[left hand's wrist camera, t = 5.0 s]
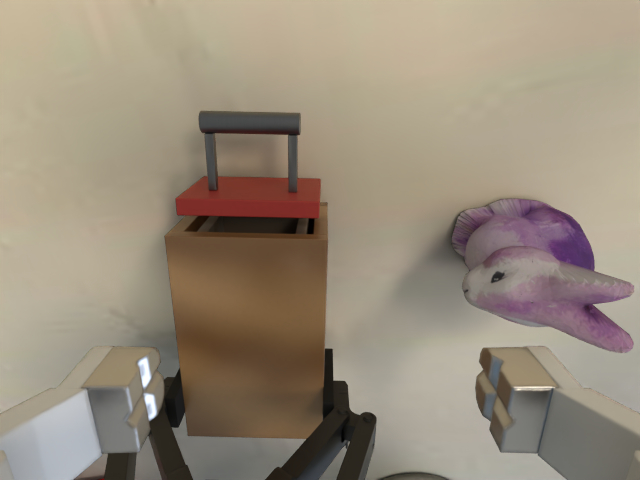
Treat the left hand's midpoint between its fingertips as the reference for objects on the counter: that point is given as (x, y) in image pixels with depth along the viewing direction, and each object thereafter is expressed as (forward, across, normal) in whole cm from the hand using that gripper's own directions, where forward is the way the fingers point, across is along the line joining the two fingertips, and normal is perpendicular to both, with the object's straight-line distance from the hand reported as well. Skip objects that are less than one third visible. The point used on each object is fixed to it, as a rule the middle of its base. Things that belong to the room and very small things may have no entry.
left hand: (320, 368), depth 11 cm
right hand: (+22, -5, -16) cm, 28 cm away
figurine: (+26, +16, -6) cm, 31 cm away
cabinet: (+26, -5, -11) cm, 29 cm away
